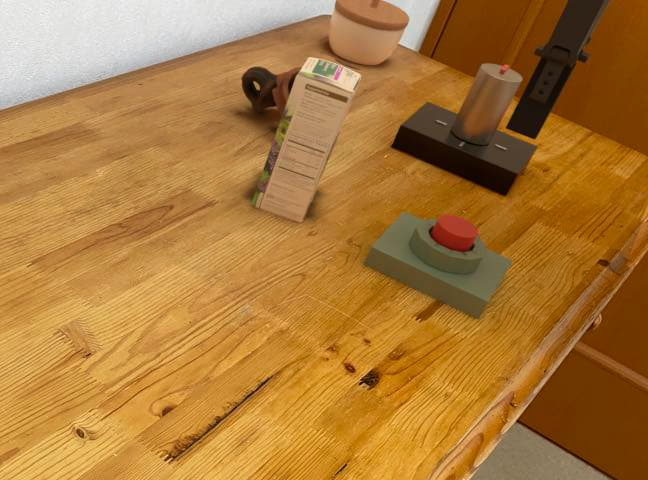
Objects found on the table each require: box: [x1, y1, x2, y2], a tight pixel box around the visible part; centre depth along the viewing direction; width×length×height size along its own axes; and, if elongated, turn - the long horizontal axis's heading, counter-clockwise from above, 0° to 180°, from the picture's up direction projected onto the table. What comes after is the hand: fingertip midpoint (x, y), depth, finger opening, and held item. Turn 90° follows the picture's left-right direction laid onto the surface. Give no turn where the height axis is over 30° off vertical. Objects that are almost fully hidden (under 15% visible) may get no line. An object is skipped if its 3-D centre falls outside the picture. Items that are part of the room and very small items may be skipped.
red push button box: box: [363, 210, 514, 320], centre depth 84 cm, size 12×10×4 cm
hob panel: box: [391, 101, 539, 197], centre depth 107 cm, size 15×11×3 cm
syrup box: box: [250, 56, 363, 224], centre depth 85 cm, size 6×6×14 cm
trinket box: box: [328, 0, 410, 71], centre depth 123 cm, size 11×11×9 cm
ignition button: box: [430, 214, 479, 252], centre depth 83 cm, size 4×4×2 cm
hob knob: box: [451, 62, 523, 145], centre depth 103 cm, size 5×5×8 cm
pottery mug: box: [241, 66, 303, 136], centre depth 103 cm, size 12×10×8 cm
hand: (521, 131), depth 76 cm, fingers closed
